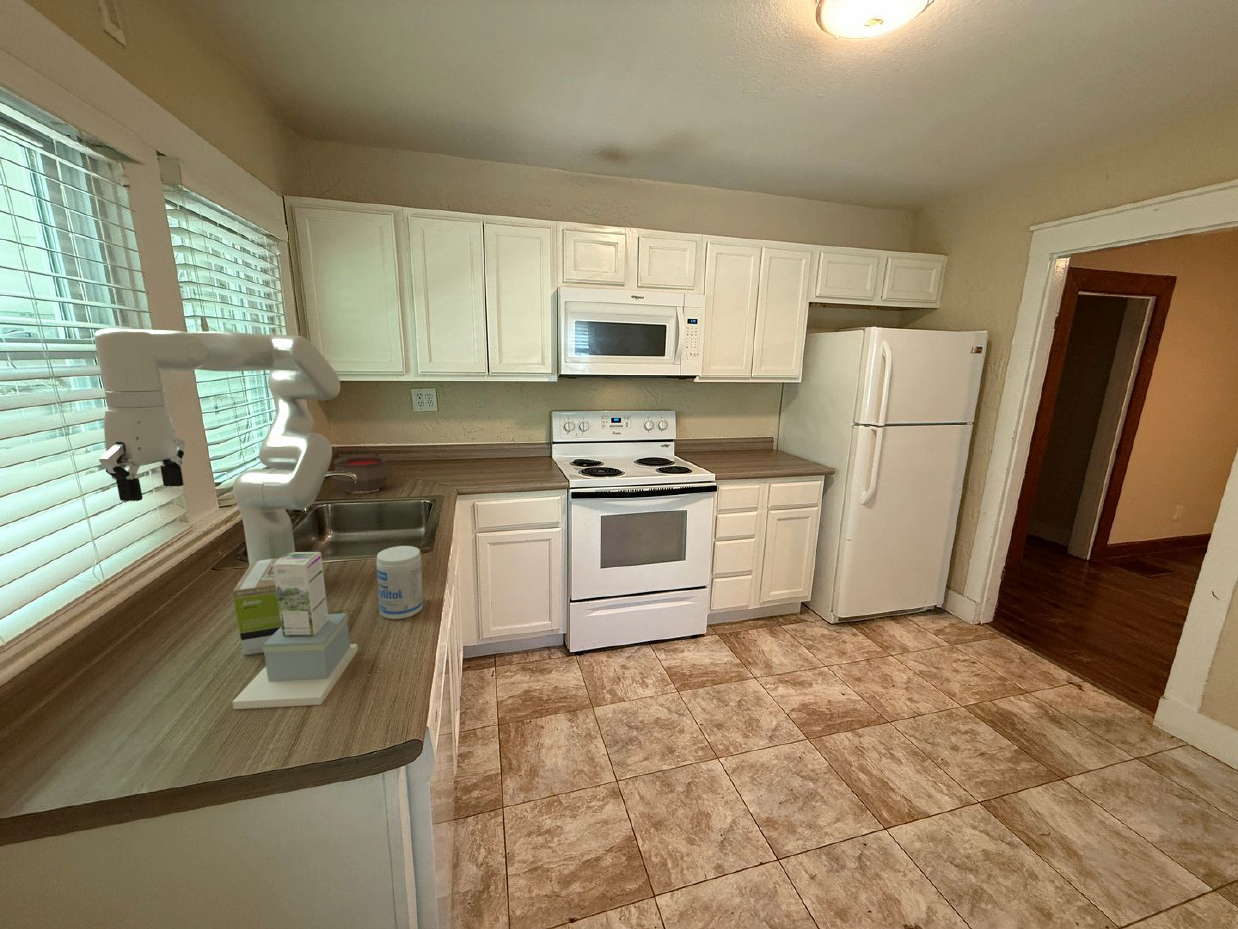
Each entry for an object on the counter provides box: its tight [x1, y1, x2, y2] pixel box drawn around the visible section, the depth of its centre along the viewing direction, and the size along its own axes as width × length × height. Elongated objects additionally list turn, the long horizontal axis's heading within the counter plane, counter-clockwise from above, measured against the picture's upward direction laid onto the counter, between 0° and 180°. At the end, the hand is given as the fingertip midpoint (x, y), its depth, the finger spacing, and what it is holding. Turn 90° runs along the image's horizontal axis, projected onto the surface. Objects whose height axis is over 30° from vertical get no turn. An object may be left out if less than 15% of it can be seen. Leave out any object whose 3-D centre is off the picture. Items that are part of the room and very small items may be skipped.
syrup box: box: [273, 551, 329, 636], centre depth 90 cm, size 6×6×14 cm
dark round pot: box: [330, 449, 393, 492], centre depth 212 cm, size 24×24×16 cm
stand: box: [231, 613, 359, 710], centre depth 91 cm, size 16×14×9 cm
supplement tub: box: [376, 545, 424, 620], centre depth 115 cm, size 10×10×15 cm
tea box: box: [232, 558, 281, 656], centre depth 104 cm, size 15×10×15 cm
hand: (153, 492), depth 91 cm, fingers open, 9 cm apart
